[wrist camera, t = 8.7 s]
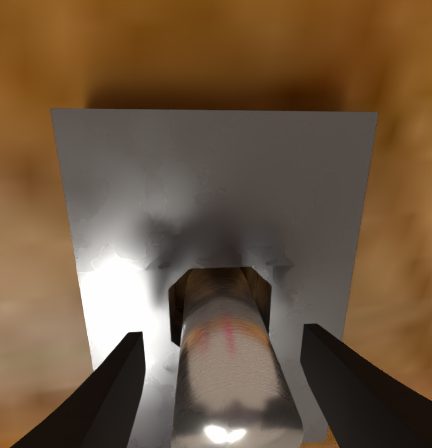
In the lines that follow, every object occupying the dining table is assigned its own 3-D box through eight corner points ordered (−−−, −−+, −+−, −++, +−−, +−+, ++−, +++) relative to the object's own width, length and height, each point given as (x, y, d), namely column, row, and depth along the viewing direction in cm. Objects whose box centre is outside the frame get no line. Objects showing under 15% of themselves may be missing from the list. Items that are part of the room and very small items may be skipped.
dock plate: (306, 397, 19) (325, 441, 16) (122, 410, 18) (107, 458, 15) (340, 121, 14) (378, 112, 11) (83, 119, 13) (50, 108, 10)
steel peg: (249, 309, 17) (304, 476, 8) (190, 317, 16) (181, 495, 8) (244, 255, 16) (302, 379, 7) (181, 263, 15) (159, 400, 7)
